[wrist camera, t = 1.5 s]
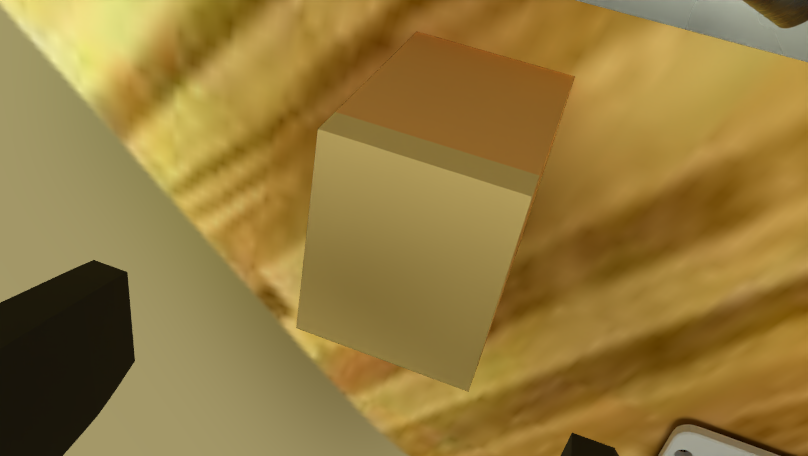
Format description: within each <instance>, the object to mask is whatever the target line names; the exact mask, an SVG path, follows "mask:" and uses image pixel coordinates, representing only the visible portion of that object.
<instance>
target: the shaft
mask: <svg viewBox="0 0 808 456" xmlns="http://www.w3.org/2000/svg"><path fill="white" fill-rule="evenodd" d="M742 1H744V2H745V3H746V4H748V5H749V6H751V7H752V8H753V9H755V10H756V11H757V12H759V13H760V14H762V15H763V16H764V17H766V18H767V19H769V20H770V21H771V22H773V23H774V24H775V25H777V26H778V27H780V28H786V29H787V28H791V27H795V26H797V25H800V24H802V23H804V22H806V21H808V0H742Z"/></svg>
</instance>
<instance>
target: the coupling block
mask: <svg viewBox="0 0 808 456" xmlns="http://www.w3.org/2000/svg"><path fill="white" fill-rule="evenodd" d="M574 78H575V77H574V76H571V75H567V74H564V73H560V72H557V71H553V70H550V69H546V68H543V67H539V66H536V65H532V64H529V63H525V62H522V61H518V60H515V59H511V58H508V57H504V56H501V55H497V54H494V53H490V52H487V51H483V50H480V49H476V48H473V47H469V46H466V45H462V44H459V43H455V42H452V41H448V40H445V39H441V38H438V37H434V36H431V35H427V34H424V33H420V32H416V33H415V34H414V35H413V36H412V37H411V38H410V39H409V40H408V41H407V42H406V43H405V44H404V45H403V46H402V47H401V48H400V49H399V50H398V51H397V52H396V53H395V54H394V55H393V56H392V57H391V58H390V59H389V60H388V61H387V62H386V63H385V64H383V65H382V66H381V67H380V68H379V69H378V70H377V71H376V72H375V73H374V74H373V75H372V76H371V77H370V78H369V79H368V80H367V81H366V82H365V83H364V84H363V85H362V86H361V87H360V88H359V89H358V90H357V91H356V92H355V93H354V94H353V95H352V96H351V97H350V98H349V99H348V100H347V101H346V102H345V103H344V104H343V105H342V106H341V107H340V108H339V109H338V110H337V111H336V112H335V113H334V114H333V115H332V116H331V117H330V118H329V119H328V120H327V121H326V122H324V123H323V124H322V125H321V126H320V127H319V128H318V133H317V142H316V152H315V161H314V170H313V179H312V188H311V198H310V207H309V216H308V225H307V234H306V244H305V253H304V262H303V271H302V281H301V290H300V299H299V308H298V317H297V327H296V328H298V329H300V330H303V331H306V332H308V333H311V334H314V335H317V336H319V337H322V338H325V339H327V340H330V341H333V342H335V343H338V344H341V345H344V346H346V347H349V348H352V349H354V350H357V351H360V352H363V353H365V354H368V355H371V356H373V357H376V358H379V359H381V360H384V361H387V362H390V363H392V364H395V365H398V366H400V367H403V368H406V369H408V370H411V371H414V372H417V373H419V374H422V375H425V376H427V377H430V378H433V379H436V380H438V381H441V382H444V383H446V384H449V385H452V386H454V387H457V388H460V389H463V390H465V391H468V392H469V389H470V386H471V383H472V380H473V377H474V374H475V371H476V369H477V366H478V363H479V360H480V357H481V354H482V351H483V348H484V345H485V343H486V340H487V337H488V334H489V331H490V328H491V325H492V322H493V320H494V317H495V314H496V311H497V308H498V305H499V302H500V299H501V296H502V294H503V291H504V288H505V285H506V282H507V279H508V276H509V273H510V270H511V268H512V265H513V262H514V259H515V256H516V253H517V250H518V247H519V244H520V241H521V238H522V235H523V232H524V229H525V226H526V223H527V220H528V217H529V214H530V211H531V208H532V205H533V202H534V199H535V196H536V193H537V190H538V187H539V184H540V181H541V178H542V175H543V172H544V169H545V166H546V163H547V160H548V157H549V153H550V150H551V147H552V144H553V141H554V138H555V135H556V132H557V129H558V126H559V123H560V120H561V117H562V114H563V111H564V108H565V105H566V102H567V99H568V96H569V93H570V90H571V87H572V84H573V81H574Z"/></svg>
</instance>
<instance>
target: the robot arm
mask: <svg viewBox="0 0 808 456" xmlns="http://www.w3.org/2000/svg"><path fill="white" fill-rule="evenodd" d="M127 276H128V275H127V272H126V271H123V270H120V269H117V268H114V267H111V266H109V265H106V264H103V263H101V262H98V261H95V260H93V261H90V262H88V263H86V264H84V265H81V266H79V267H77V268H74V269H73V270H70V271H68V272H66V273H63V274H61V275H59V276H57V277H55V278H52V279H51V280H48V281H46V282H44V283H42V284H40V285H38V286H35V287H33V288H31V289H29V290H27V291H25V292H22V293H20V294H18V295H16V296H14V297H12V298H10V299H7V300H5V301H3V302H1V303H0V456H63V455H64V454H65V452H66V451H67V450H68V449H69V448H70V447H71V446H72V444H73V443H74V442H75V441H76V440H77V439H78V438H79V436H80V435H81V434H82V433H83V432H84V431H85V430H86V428H87V427H88V426H89V425H90V424H91V422H92V421H93V420H94V419H95V418H96V417H97V415H98V414H99V413H100V411H101V410H102V409H103V407H104V406H105V404H106V403H107V402H108V400H109V399H110V397H111V396H112V394H113V393H114V392H115V390H116V389H117V387H118V386H119V384H120V383H121V381H122V379H123V378H124V377H125V375H126V373H127V372H128V370H129V369H130V367H131V366H132V364H133V363H134V361H135V358H134V346H133V334H132V322H131V310H130V299H129V287H128V277H127ZM679 450H687V451H689V452H681V451H679ZM561 456H619V455H618V454H617V452H616V450H615V448H613V447H610V446H607V445H605V444H602V443H599V442H596V441H594V440H591V439H588V438H585V437H583V436H580V435H577V434H574V433H572V434H571V436H570V438H569V440H568V442H567V444H566V446H565V448H564V450H563V452H562V454H561ZM658 456H780V455H777V454H774V453H771V452H769V451H766V450H763V449H760V448H757V447H755V446H752V445H749V444H746V443H743V442H741V441H738V440H735V439H732V438H730V437H727V436H724V435H721V434H718V433H716V432H713V431H710V430H707V429H704V428H702V427H699V426H695V425H691V424H686V425H681V426H678V427H676V428H675V429H674V430H673V432H672V433H671V435H670V437H669V438H668V440H667V442H666V443H665V445H664V447H663V448H662V450H661V452H660V453H659V455H658Z"/></svg>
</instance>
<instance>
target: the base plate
mask: <svg viewBox="0 0 808 456" xmlns="http://www.w3.org/2000/svg"><path fill="white" fill-rule="evenodd" d="M577 1H581V2H584V3H588V4H592V5H596V6H599V7H603V8H607V9H611V10H614V11H618V12H622V13H626V14H629V15H633V16H637V17H641V18H644V19H648V20H652V21H656V22H659V23H663V24H667V25H671V26H674V27H678V28H682V29H686V30H689V31H693V32H697V33H701V34H704V35H708V36H712V37H716V38H719V39H723V40H727V41H731V42H734V43H738V44H742V45H746V46H749V47H753V48H757V49H760V50H764V51H768V52H772V53H775V54H779V55H783V56H787V57H790V58H794V59H798V60H802V61H805V62H808V21H806V22H804V23H802V24H800V25H797V26H795V27H791V28H787V29H786V28H780V27H778V26H777V25H775V24H774V23H773V22H771V21H770V20H769V19H767V18H766V17H764V16H763V15H762V14H760V13H759V12H757V11H756V10H755V9H753V8H752V7H751V6H749V5H748V4H746V3H745V2H744V1H742V0H577Z"/></svg>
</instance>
